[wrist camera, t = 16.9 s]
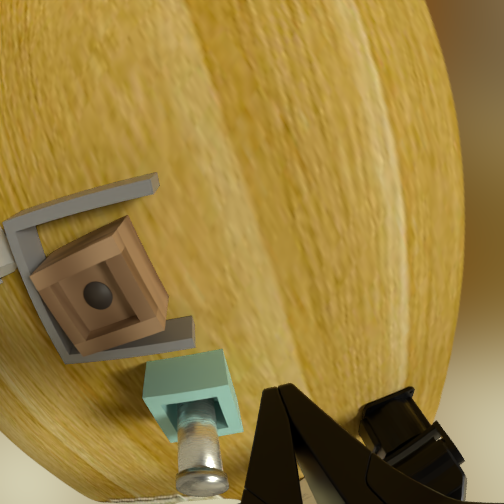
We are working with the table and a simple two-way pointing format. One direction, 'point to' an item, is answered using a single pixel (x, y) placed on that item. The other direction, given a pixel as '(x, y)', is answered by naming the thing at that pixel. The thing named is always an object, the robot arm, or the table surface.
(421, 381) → the table surface
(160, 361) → the teal block
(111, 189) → the grey u-shaped bracket
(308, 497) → the ink cartridge box
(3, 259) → the grey slotted housing
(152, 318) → the walnut block
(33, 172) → the table surface
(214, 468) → the metal cylinder peg
